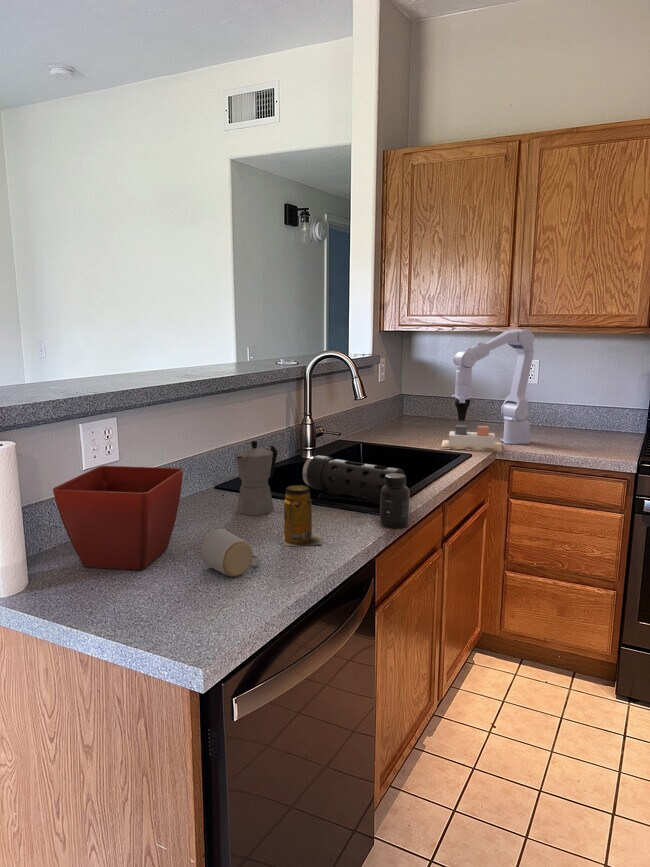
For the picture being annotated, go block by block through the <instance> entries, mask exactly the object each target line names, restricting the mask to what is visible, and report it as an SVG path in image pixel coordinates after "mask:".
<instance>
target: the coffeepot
mask: <svg viewBox="0 0 650 867" xmlns="http://www.w3.org/2000/svg"><path fill="white" fill-rule="evenodd" d="M250 445H251V448H246V449H241V450H238V451H237V452H236V453H235V461H236V465H237V470H238V477H239V479H240V480H241V486H240V488H239V494H238V501H237V506H236V507H237V508H236V511H237V512H238V513H239V514H240V515H245V516H251V517H252V516H256V517H257V516H263V515H264V516H265V515H267V514H270V513H272V512H273V510H274V503H273V497H272V493H271V487H270V485H269V479H270V478H272V477H273V476H274V472H275V468H276V463H277V457H278V450H277V448H276V446H274V445H268V446H264V447H262V448H261V447H259V448H258V441H256V440H252V441H250Z"/></svg>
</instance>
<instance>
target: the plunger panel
mask: <svg viewBox="0 0 650 867" xmlns="http://www.w3.org/2000/svg"><path fill="white" fill-rule="evenodd" d="M495 435H496V434H495V433H494V432H489V433H488V436H477V431H475V432H474V431H473V432H472V431H467V435H456V430H454V431H453V430H450V431H449V434H448V440H449V446H465V447H485V448H494V445H495V442H496V437H495Z"/></svg>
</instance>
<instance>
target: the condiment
mask: <svg viewBox="0 0 650 867" xmlns="http://www.w3.org/2000/svg"><path fill="white" fill-rule="evenodd" d="M309 487H310V486H309ZM309 487H308V485H307V486H306V485H303V484H295V485H289V486H287V487H286V488H285V498H284V501H283V506H284V507H283V513H284V514H283V515H284V517H283V525H284V526H283V527H284V528H283V530H284V533H283V534H282V546H285V547H293V546H294V547H298V546H316V545H323V542H322V536H321V533H313V532H312V531H313V528H312V527H313V525H312V524H313V520H312V519H313V518H312V517H313V515H312V514H313V513H312V512H313V511H312V508H313V506H312V504H313V503H312V502H313V501H312V499H311V493H310V492H311V490H310V488H309Z"/></svg>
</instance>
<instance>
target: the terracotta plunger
mask: <svg viewBox="0 0 650 867" xmlns="http://www.w3.org/2000/svg"><path fill="white" fill-rule="evenodd" d="M489 429H490V427H489V426H488V425H477V430H476V432H477V436H488V433H490V432H489V431H490V430H489Z"/></svg>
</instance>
